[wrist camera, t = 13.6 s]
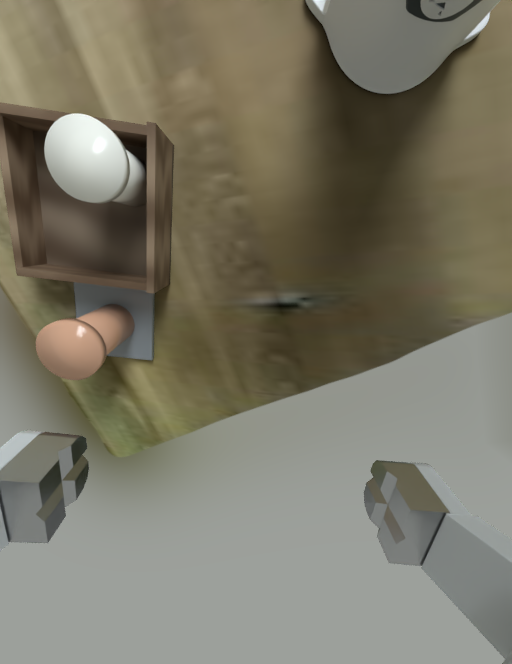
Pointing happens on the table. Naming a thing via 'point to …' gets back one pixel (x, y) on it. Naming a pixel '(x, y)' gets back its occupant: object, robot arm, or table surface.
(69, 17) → the table surface
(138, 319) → the slate tile
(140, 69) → the table surface
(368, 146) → the table surface
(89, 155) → the white glossy domed part
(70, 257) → the wooden tray
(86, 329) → the peach mushroom knob
